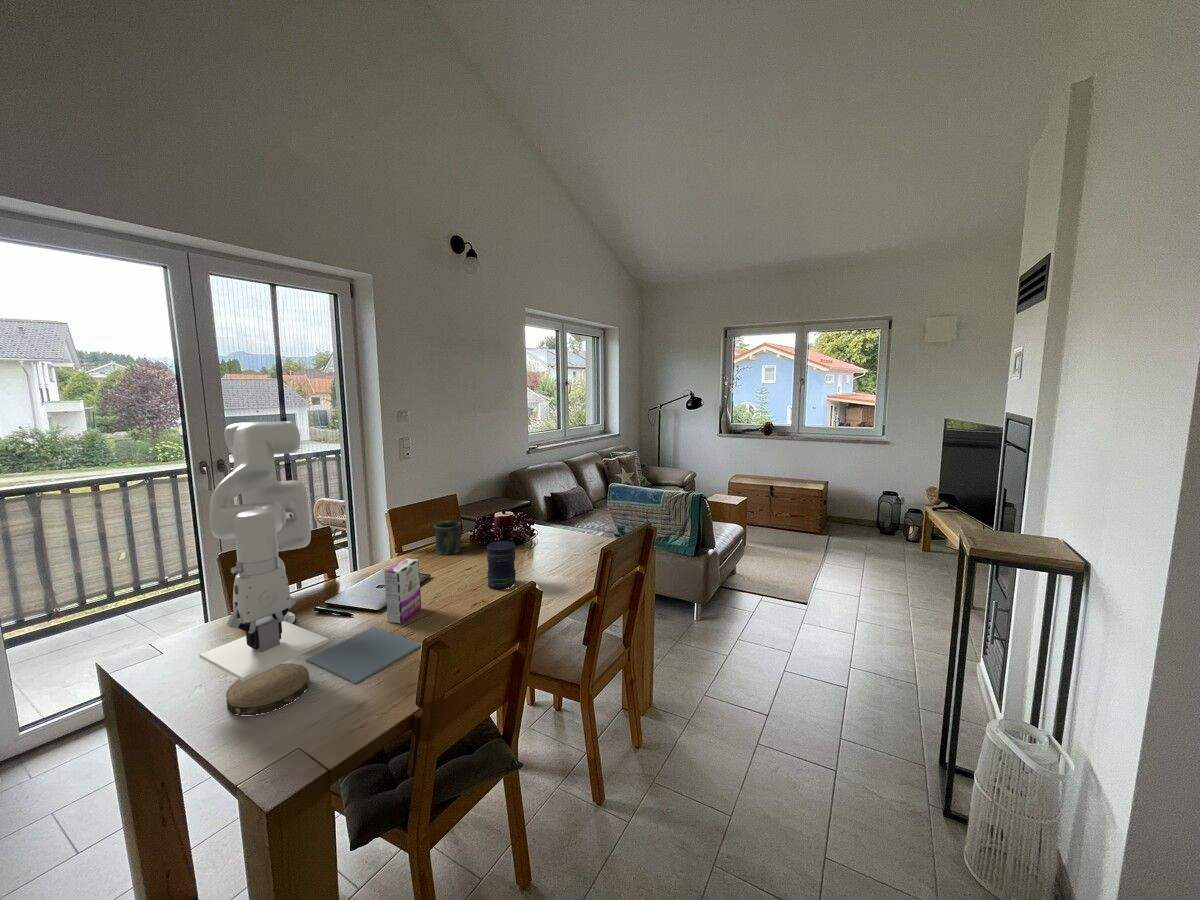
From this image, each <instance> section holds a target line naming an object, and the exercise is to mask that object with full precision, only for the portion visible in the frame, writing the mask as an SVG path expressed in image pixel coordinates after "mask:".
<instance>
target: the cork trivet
mask: <svg viewBox="0 0 1200 900" xmlns="http://www.w3.org/2000/svg"><path fill="white" fill-rule="evenodd" d="M308 685H309V686H310V672H309V670H308V667H305V665H302V664H298V663H282V664H280V665H277V666H275V667H273V668H271V669H269V670H267V671H264V672H262V673H260V674H258V675H256V676H254V677H252V678H249V679H247V680H245V681H242V680H240V679H238V678H237V679H236V681H235V682H233V683H232V684H231V685H230V686H229V687H228V689H227V690H226V692H225V698H226V699H225V700H226V708H227V711H228V710H229V711H230V712H231V713H232V714H231V713H230V712H229V711H228V712H229V713H230V714H231V715H233V714H238V715H256V714H261V713H267V712H270V711H273V710H275V709H279V708H281V707H283V706H284V705H286V704H289V703H291V702H293V701H294V700H295V699H297V698H298V697H300V696H301V695H302V694H303V693H304V691H305V690H306V689H307V688H308V689H309V687H308ZM304 694H305V693H304ZM304 694H303V695H304ZM303 695H302V696H303ZM302 696H301V697H302ZM301 697H300V698H301ZM297 700H298V699H297ZM294 702H295V701H294ZM294 702H293V703H294ZM291 704H292V703H291ZM289 705H290V704H289ZM283 708H284V707H283ZM281 709H282V708H281ZM279 710H280V709H279ZM273 712H274V711H273ZM270 713H271V712H270ZM267 714H268V713H267Z"/></svg>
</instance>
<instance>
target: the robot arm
mask: <svg viewBox="0 0 1200 900" xmlns="http://www.w3.org/2000/svg"><path fill="white" fill-rule="evenodd" d="M223 435H224V436H223V437H224V440H225V444H226V447H227V448H228V450H229V452H230V454H231V455H232V458H233V471H232V472H230V473H229V474H228V475H226V476H225V477H224V478H223V479H222V480H221V481H220V482H219V483H218V484H217V486H216V487H215V488H214V490H213V491H212V493H211V496H210V497H211V498H210V502H209V528H210V529H209V530H210V532H211V533H212V535H213V536H214V537H215V538H216V539H219V540H228V539H229V540H233V539H234V540H235V547H236V558H237V559H236V566H234V567H233V566H232V567H231V568H230V573H232V575H234V574H236V575H235V578H234V582H233V590H232V591H233V592H232V596H233V597H232V606H233V608H232V609H233V610H232V613H231V615H230V617H229V618H228V620H227V622H226V626H227V627H229V628H233V629H237V630H241V631H243V632H244V633H245V636H246V640H247V645H248V646H249V647H251V648H253V649H258V648H259V638H258V632H257V631H256V630H255V628H256V620H258V619H261V618H264V617H267V616H270V617H273V618H275V619H278V626H279V639H281V633H282V623H281V622H283V621H286V622H288V623H291V624H293V623H294V622H295V620H296V615H295V614H294V613H292V611H291V612H290V611H289V610H290V609H291V608H292V607H293V606H294V605H296V603H297V602H296V600H295V599H294V598H293V597H292V596H291V592H290V591H291V590H290V585H289V580H288V577H287V576H288V575H287V574H286V573H287V572H286V566H285V563H284V561H283V560H282V559H281V558H280V557H279V552H284V551H291V550H296V549H297V550H298V549H303V548H306V547H307V546H308V545H309V544H310V542H311V537H312V533H311V518H310V508H309V497H308V490H307V489H306V488H307V487H306V486H305V484H304V483H303V482H302V481H299V480H294V479H293V480H292V479H291V480H281V481H279V480H277V472H276V471H277V470H276V469H277V468H276V463H275V455H279V454H281V455H282V454H283V455H284V454H295V453H297V452H298V451H299V449H300V448H301V433H300V430H299V428H298V426H297V424H296V422H294V421H290V420H289V421H288V420H285V421H284V420H283V421H282V420H281V421H249V422H237V423H232V424H229V425H228V426H226V427H225V429H224V431H223ZM239 495H241V501H242V504H234V505H228V504H229V502H230V501H231V500H232V499H234V498H235V497H237V496H239ZM287 514H290V515H291V517H287ZM239 619H241V621H243V622H241V621H239Z"/></svg>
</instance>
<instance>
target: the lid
mask: <svg viewBox="0 0 1200 900" xmlns="http://www.w3.org/2000/svg"><path fill="white" fill-rule="evenodd" d="M281 623H282V633H281V639H279V626H278V619H275V618H273V617H270V616H267V617H264V618H261V619H258V620H256V628H255V630H256V631H257V632H258V638H259V648H258V649H253V648H251V647H249V646H248V645H247V640H246V635H245V636H242V637H240V638H237V639H235V640H231V641H230V642H227V643H224V644H222V645H220V646H216V647H214V648H212V649H209V650H207V651H204V652H202V653H200V654H199V658H200V659H202V660H203V661H205V662H206V663H207V662H208V663H209V664H211V665H213V666H215V667H216V668H218V669H220V670H222V671H223V672H225V673H227V674H229V675H230V676H232V677H235V678H236V679H237V680H238V679H240V680H242V681H245V680H247V679H249V678H252V677H254V676H256V675H258V674H260V673H262V672H264V671H267V670H269V669H271V668H273V667H275V666H277V665H280V664H285V663H286V662H288V661H291V660H292V659H294V658H298V657H299V656H301V655H303V654H305V653H307V652H309V651H312V650H314V649H316V648H317V647H318V648H319V647H320V646H322V645H324V644H327V643H329V638H327V637H326V636H322V635H320V634H318V633H315V632H313V631H310V630H308V629H305V628H303V627H300V626H297V625H296V624H293V623H292V624H291V623H288V622H286V621H283V622H281Z"/></svg>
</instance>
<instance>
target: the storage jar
mask: <svg viewBox="0 0 1200 900" xmlns="http://www.w3.org/2000/svg"><path fill="white" fill-rule="evenodd" d="M486 556H487V558H486V560H487V563H488V564H487V565H488V566H487V569H488V570H487V572H486V573H487V583H488V584H487V588H488V587H489V588H490V589H489V588H488V589H489V590H491V589H493V590H492V591H495V590H503V589H506V588H508V587H509V588H510V587H511V586H512V585H513V584H514V583H515V584H516V569H515V560H516V544H515V542H513V541H510V540H495V541H492V542H489V543H488V544H487V550H486Z"/></svg>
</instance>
